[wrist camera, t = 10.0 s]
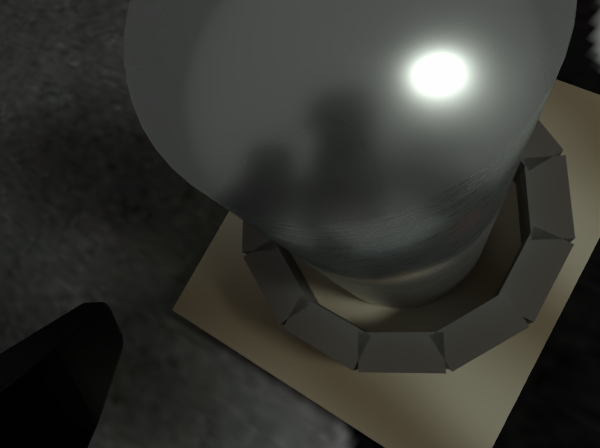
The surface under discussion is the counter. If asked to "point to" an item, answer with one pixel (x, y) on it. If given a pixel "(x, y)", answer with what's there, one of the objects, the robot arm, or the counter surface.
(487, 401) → the socket plate
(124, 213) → the counter surface
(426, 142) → the steel peg
